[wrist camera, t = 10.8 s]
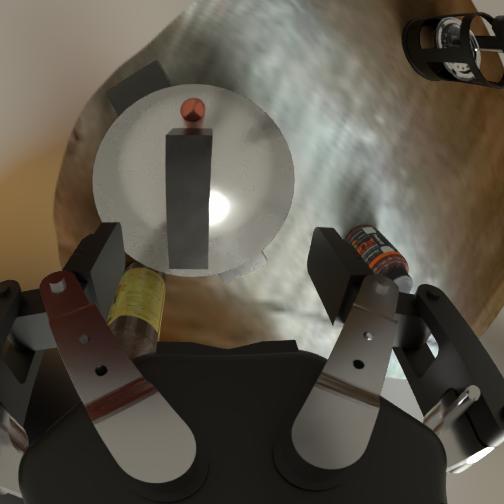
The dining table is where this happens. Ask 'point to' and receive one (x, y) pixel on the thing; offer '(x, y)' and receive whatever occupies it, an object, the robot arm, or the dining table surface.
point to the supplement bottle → (381, 256)
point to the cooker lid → (194, 179)
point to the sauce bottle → (138, 309)
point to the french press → (453, 48)
